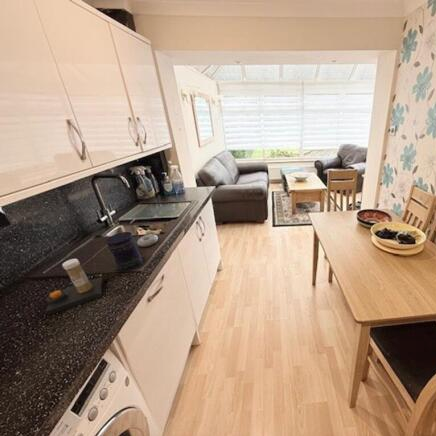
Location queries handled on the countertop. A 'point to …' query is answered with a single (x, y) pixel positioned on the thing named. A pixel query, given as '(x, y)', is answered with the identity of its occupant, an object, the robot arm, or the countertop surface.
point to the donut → (147, 240)
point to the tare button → (55, 294)
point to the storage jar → (124, 251)
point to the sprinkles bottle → (77, 275)
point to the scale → (74, 297)
